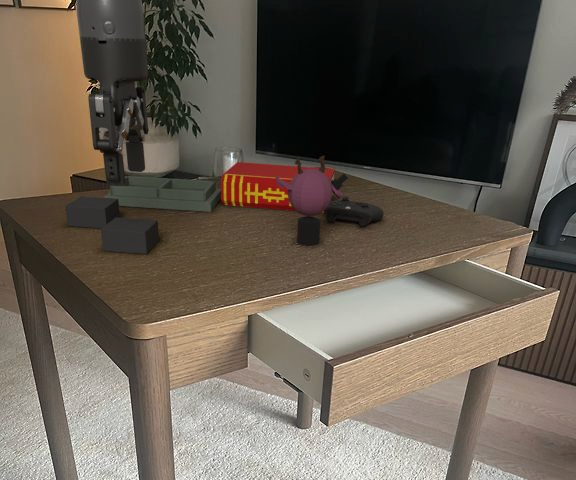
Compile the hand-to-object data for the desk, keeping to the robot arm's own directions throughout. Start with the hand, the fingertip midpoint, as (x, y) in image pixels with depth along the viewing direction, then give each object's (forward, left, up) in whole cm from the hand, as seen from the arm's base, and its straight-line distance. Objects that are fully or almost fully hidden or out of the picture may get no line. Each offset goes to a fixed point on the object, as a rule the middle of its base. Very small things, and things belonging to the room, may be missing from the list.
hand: (127, 177), depth 78 cm
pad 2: (0, 0, -9) cm, 9 cm away
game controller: (+30, +20, -9) cm, 37 cm away
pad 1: (-9, +10, -9) cm, 16 cm away
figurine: (+24, +7, -9) cm, 27 cm away
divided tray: (-2, +25, -9) cm, 27 cm away
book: (+17, +30, -9) cm, 36 cm away
